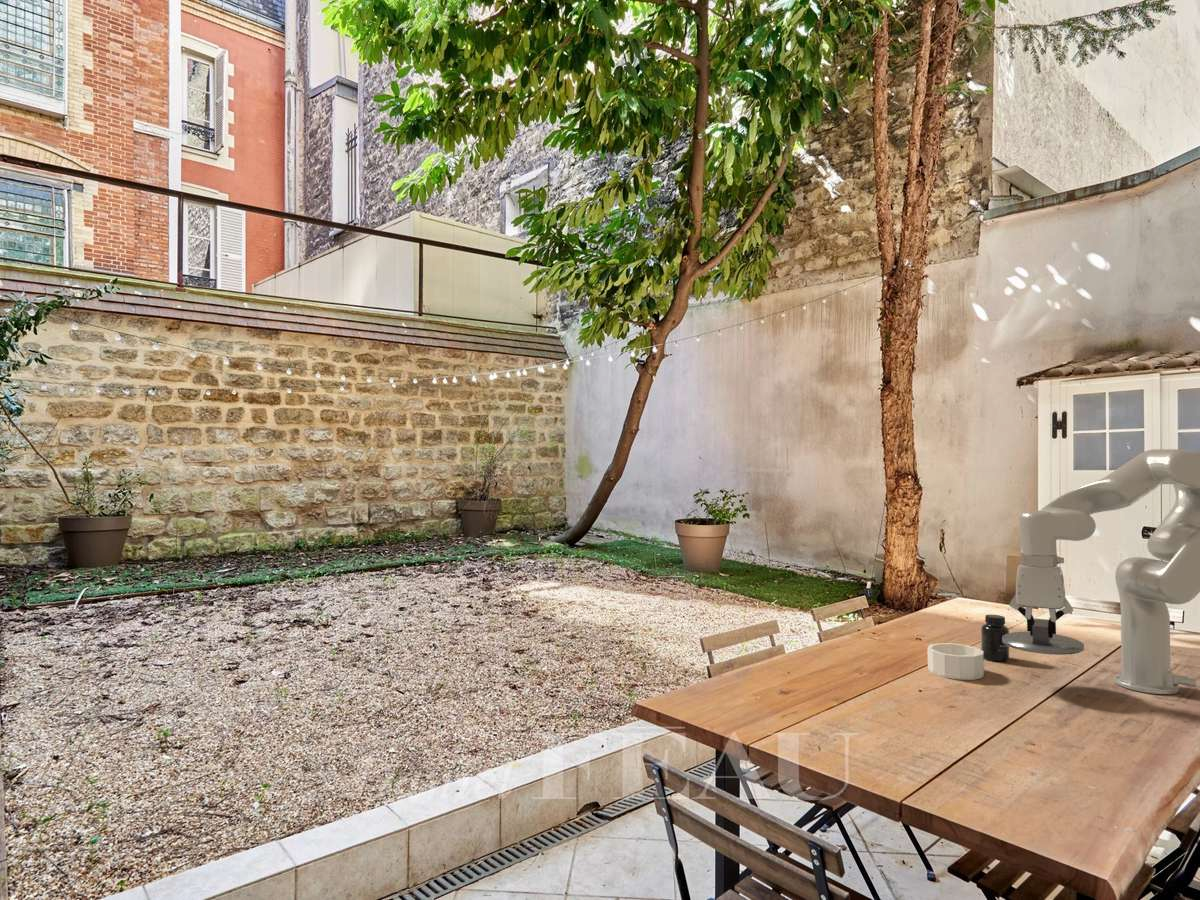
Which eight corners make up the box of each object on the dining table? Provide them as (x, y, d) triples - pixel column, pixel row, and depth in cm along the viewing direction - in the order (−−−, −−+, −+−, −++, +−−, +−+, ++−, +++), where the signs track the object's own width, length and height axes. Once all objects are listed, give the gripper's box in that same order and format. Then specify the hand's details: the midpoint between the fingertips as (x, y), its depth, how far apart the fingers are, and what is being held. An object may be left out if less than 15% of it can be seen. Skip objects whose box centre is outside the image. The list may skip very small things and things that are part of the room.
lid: (1085, 640, 171) (1084, 619, 171) (1083, 658, 157) (1082, 635, 157) (1006, 631, 181) (1005, 611, 181) (998, 648, 168) (997, 626, 168)
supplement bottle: (1007, 664, 188) (1007, 620, 188) (979, 659, 193) (979, 616, 193) (1011, 657, 194) (1010, 615, 194) (983, 653, 198) (982, 612, 198)
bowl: (985, 669, 184) (985, 647, 184) (981, 683, 173) (981, 659, 173) (932, 662, 191) (931, 641, 191) (925, 675, 180) (924, 652, 180)
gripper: (1079, 561, 167) (1082, 636, 167) (1002, 556, 177) (1005, 628, 177) (1078, 565, 161) (1082, 644, 161) (998, 561, 171) (1001, 635, 171)
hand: (1041, 634), depth 169 cm, fingers closed on lid, 3 cm apart
